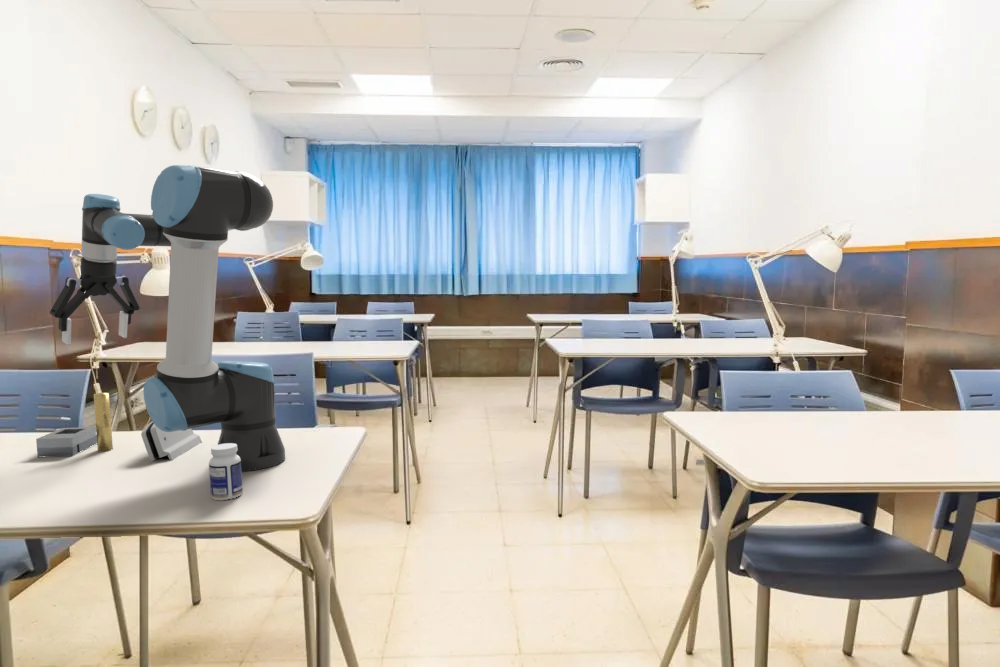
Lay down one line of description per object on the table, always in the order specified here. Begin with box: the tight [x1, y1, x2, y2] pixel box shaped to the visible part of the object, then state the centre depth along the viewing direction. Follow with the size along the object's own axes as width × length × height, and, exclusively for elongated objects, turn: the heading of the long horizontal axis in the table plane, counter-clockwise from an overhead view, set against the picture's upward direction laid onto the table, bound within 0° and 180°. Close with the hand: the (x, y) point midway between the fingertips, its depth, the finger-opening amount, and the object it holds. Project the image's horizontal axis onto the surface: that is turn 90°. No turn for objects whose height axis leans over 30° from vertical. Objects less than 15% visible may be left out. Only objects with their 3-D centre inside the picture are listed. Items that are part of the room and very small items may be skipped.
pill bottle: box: [208, 443, 244, 501], centre depth 127 cm, size 6×6×10 cm
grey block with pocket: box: [35, 426, 97, 457], centre depth 162 cm, size 12×8×4 cm
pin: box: [93, 392, 114, 452], centre depth 161 cm, size 3×3×14 cm
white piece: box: [140, 420, 203, 462], centre depth 160 cm, size 17×5×10 cm, turn 1°
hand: (95, 339), depth 167 cm, fingers open, 13 cm apart
